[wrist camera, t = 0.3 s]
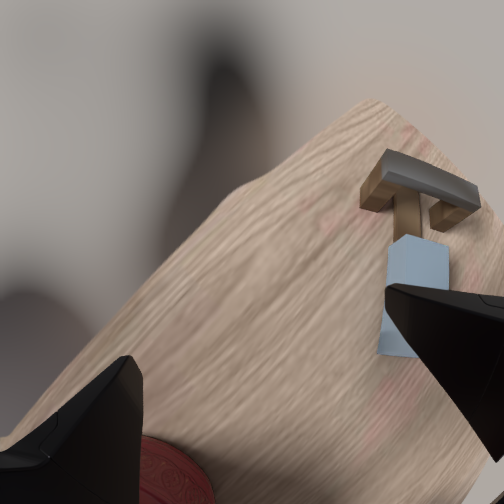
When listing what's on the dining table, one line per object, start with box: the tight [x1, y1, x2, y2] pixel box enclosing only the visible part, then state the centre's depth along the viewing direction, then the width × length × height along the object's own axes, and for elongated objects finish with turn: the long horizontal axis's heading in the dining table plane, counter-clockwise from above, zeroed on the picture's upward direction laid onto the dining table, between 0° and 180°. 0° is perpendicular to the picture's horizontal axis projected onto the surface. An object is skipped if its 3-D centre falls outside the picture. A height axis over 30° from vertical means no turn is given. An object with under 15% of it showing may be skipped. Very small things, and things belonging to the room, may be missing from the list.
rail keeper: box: [360, 149, 481, 243], centre depth 21 cm, size 18×11×7 cm, turn 168°
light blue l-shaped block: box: [377, 234, 449, 358], centre depth 18 cm, size 10×5×9 cm, turn 168°
